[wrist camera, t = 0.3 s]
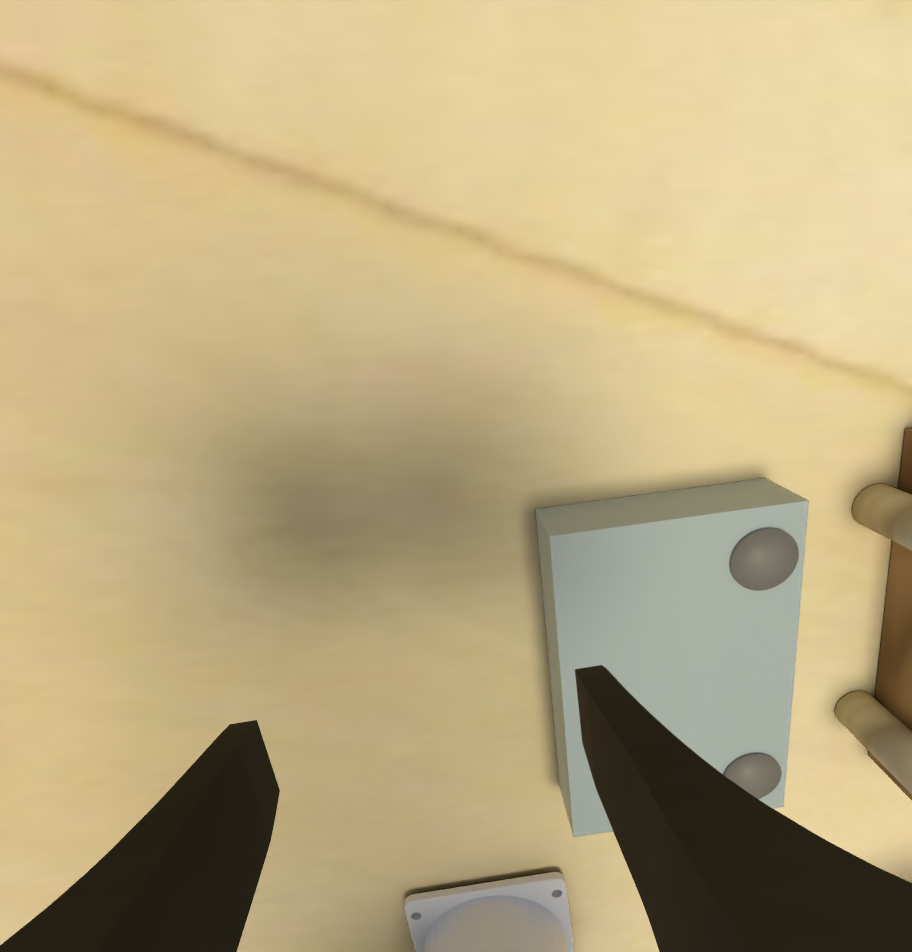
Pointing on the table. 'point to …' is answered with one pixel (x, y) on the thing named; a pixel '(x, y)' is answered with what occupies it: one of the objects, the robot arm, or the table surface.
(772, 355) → the table surface
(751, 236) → the table surface
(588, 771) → the door
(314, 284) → the table surface
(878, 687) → the hinge rail
